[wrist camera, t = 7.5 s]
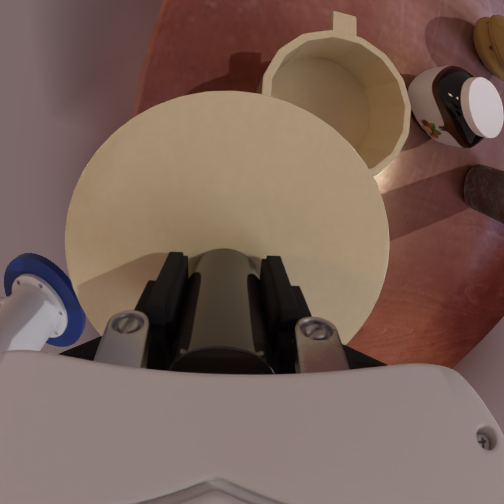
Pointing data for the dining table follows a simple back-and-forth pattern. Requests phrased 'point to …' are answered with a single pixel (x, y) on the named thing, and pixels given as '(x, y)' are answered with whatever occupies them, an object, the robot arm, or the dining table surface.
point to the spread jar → (455, 106)
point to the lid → (227, 223)
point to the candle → (485, 191)
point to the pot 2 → (491, 43)
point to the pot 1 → (344, 88)
